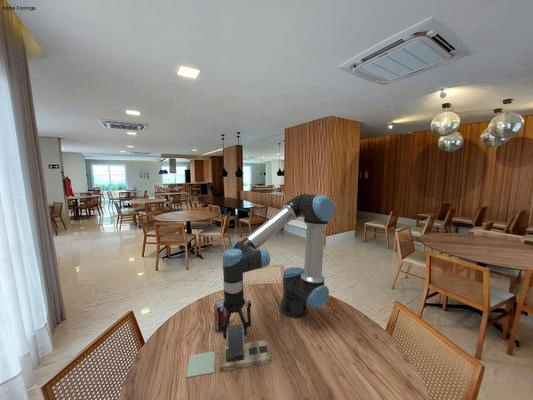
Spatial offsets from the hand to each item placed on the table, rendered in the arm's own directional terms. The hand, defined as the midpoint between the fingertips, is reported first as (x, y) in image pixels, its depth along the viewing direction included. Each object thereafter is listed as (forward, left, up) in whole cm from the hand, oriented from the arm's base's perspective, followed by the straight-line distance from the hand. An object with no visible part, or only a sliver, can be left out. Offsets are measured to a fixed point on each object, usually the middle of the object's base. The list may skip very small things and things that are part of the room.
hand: (235, 343), depth 87 cm
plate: (-4, 0, -6) cm, 7 cm away
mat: (+13, 0, -6) cm, 15 cm away
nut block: (0, 0, -3) cm, 3 cm away
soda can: (+5, -20, -7) cm, 22 cm away
